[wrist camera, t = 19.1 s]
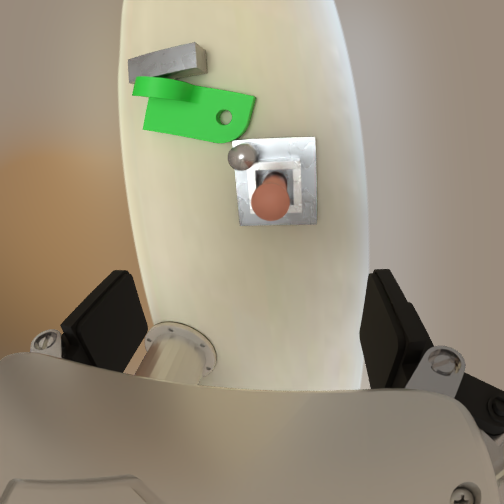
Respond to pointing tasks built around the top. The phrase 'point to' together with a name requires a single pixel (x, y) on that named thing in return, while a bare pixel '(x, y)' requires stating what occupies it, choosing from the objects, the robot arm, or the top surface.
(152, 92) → the mechanical part
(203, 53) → the block
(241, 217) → the metal square socket base
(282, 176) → the peach peg
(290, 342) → the top surface
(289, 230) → the top surface
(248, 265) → the top surface
